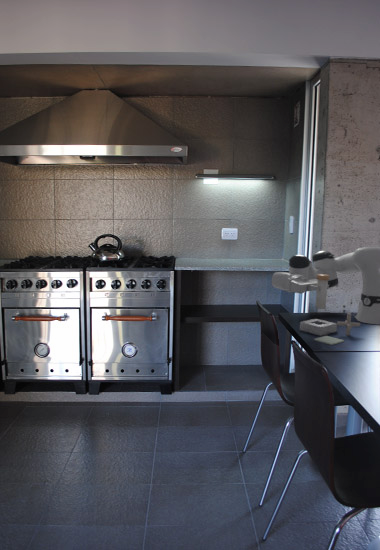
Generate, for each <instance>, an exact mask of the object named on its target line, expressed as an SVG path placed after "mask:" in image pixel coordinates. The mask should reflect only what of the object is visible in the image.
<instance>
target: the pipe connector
mask: <svg viewBox="0 0 380 550" xmlns="http://www.w3.org/2000/svg"><path fill="white" fill-rule="evenodd" d="M336 324H337V326H343V327H345V336H350V335H351V329H352V328H353V327H355V328H356V327H358V328H359V327H361V322H354V321H353V322H352V313H350V312H347V313H346V319H345V321H337V322H336Z"/></svg>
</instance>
